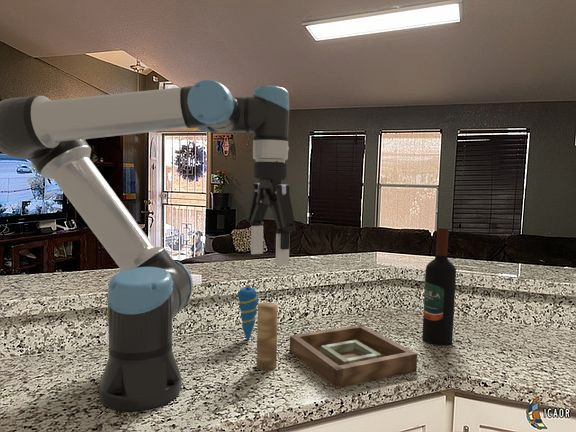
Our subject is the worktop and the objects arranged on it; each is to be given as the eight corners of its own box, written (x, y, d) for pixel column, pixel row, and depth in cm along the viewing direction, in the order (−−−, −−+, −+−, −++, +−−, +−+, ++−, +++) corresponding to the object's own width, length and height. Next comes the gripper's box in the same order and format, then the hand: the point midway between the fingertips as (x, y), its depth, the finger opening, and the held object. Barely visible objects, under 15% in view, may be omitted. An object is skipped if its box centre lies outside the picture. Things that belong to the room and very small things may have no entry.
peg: (261, 372, 97) (262, 309, 96) (253, 364, 101) (254, 303, 100) (279, 368, 99) (280, 306, 98) (271, 361, 103) (272, 301, 101)
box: (336, 389, 90) (336, 370, 89) (289, 351, 108) (289, 335, 108) (416, 371, 99) (417, 353, 99) (360, 339, 118) (361, 324, 117)
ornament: (248, 344, 112) (248, 286, 111) (233, 339, 115) (233, 282, 114) (261, 339, 116) (262, 282, 115) (246, 334, 119) (247, 279, 118)
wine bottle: (456, 346, 115) (463, 230, 112) (426, 345, 115) (432, 229, 112) (446, 335, 122) (452, 226, 119) (418, 334, 122) (424, 225, 120)
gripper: (314, 160, 86) (311, 268, 88) (263, 162, 109) (262, 249, 110) (279, 159, 83) (277, 271, 85) (234, 161, 105) (233, 250, 107)
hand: (268, 259), depth 98 cm, fingers open, 13 cm apart
